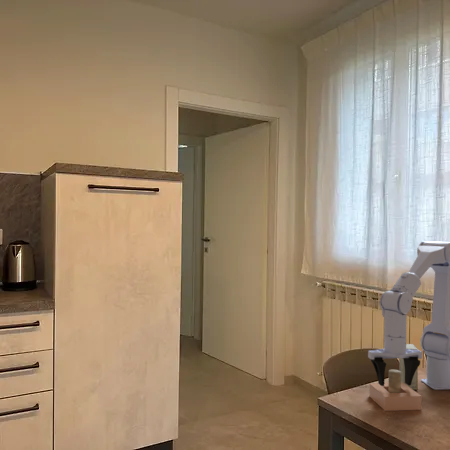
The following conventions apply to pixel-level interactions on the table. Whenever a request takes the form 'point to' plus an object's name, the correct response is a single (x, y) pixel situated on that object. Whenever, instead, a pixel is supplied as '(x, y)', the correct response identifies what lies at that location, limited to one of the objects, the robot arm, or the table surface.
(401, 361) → the skincare box
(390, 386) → the beech peg
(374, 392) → the socket block
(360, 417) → the table surface
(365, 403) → the table surface
